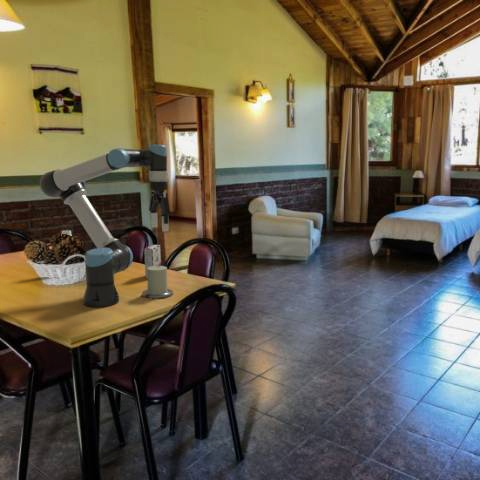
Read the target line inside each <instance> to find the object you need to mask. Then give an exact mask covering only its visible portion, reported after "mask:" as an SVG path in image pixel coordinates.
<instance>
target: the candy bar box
mask: <svg viewBox="0 0 480 480" xmlns="http://www.w3.org/2000/svg"><path fill="white" fill-rule="evenodd" d="M143 249H144V250H143V251H144V252H143V253H144V267H145V268H144V269H145V270H144V272H145V279H147V280H148V275H147V268H148V267H151V266H162V257H161V256H162V255H161V253H162V251H161V244H152V245H149V246H147V247H145V248H143Z"/></svg>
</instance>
